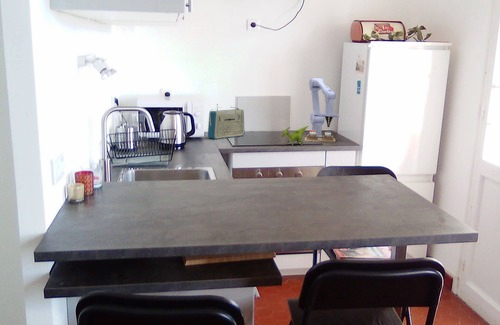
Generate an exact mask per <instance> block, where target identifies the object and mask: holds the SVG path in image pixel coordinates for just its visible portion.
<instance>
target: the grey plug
mask: <svg viewBox="0 0 500 325" xmlns="http://www.w3.org/2000/svg"><path fill="white" fill-rule="evenodd" d="M324 135H325V137H331V135H332V131H331V130H325V131H324Z"/></svg>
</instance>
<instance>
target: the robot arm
mask: <svg viewBox="0 0 500 325" xmlns="http://www.w3.org/2000/svg"><path fill="white" fill-rule="evenodd" d="M308 86H309V90H310V91H311V100H312V110H313V112H312V113H311V114H310V115H309V116H310V118H309V121H310V124H311V130H315V131H316V135H318V138H322V135H323V134H322V129H323V128H322V127H323V125H324V123H325V122H326V126H327V128H330V125H331V122H332V120H333V118H340V114H337V113H334V108H335V107H334V106H335V105H334V104H335V99H336V98H337V97H336V96H337V95H336V91H334V90H333V91H332V89H331V88H330V87H329V86H328V85H326V84H325V81H324V78H323V77H317V78H314V77H313V78H312V77H311V78H310V79H309V82H308ZM320 91H321V93H322V94H323V95H324V102H325V108H324V109H325V110H324V113H323V112H321V108H320V107H321V106H320V98H319V97H320V96H319V92H320Z"/></svg>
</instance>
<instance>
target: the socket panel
mask: <svg viewBox="0 0 500 325" xmlns="http://www.w3.org/2000/svg"><path fill="white" fill-rule="evenodd" d="M309 135H310V133H308V134H307V135H306V137H304V140H303V142H311V141H313V142H314V143H333V144H334V143H336V138H334V135H332V134H331V137H325V134H321V135H322V137H318V135H316V136H309Z"/></svg>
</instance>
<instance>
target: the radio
mask: <svg viewBox="0 0 500 325" xmlns="http://www.w3.org/2000/svg"><path fill="white" fill-rule="evenodd" d="M218 105H219V104H218V103H216V110H214V108H212V109H211V110H209V114H208V124H207V137H208V138H209V139H212V140H223V139H230V138H239V137H240V138H241V137H244V136H245V133H246V131H245V112H244V109H242V108H241V109H240V108H238V107H234V106H231V108H232V109H222V110H218V108H219V109H220V108H221V106H220V107H218Z"/></svg>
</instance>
